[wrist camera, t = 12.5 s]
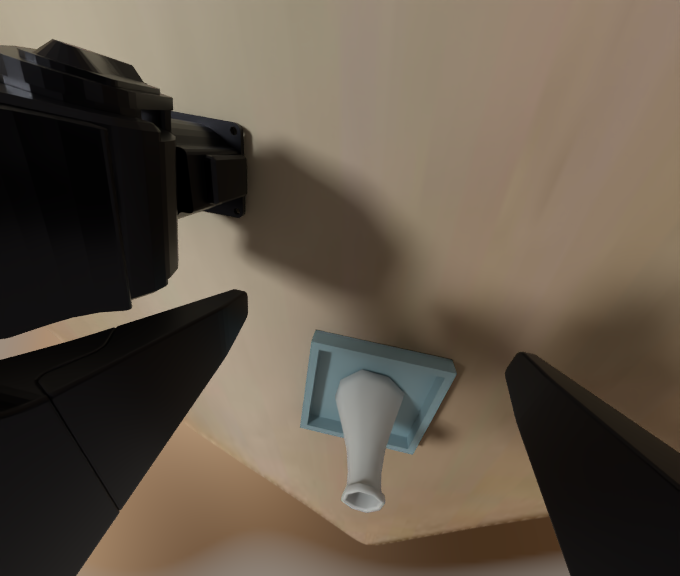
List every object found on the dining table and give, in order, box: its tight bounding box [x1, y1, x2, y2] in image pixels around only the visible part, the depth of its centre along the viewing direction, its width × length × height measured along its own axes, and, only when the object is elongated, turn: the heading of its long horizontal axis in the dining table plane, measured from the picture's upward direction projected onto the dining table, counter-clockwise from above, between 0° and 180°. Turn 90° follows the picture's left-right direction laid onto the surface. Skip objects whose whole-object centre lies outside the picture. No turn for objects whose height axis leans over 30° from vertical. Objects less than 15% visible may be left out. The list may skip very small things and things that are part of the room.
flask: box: [335, 370, 404, 513], centre depth 24 cm, size 7×7×10 cm
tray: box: [300, 330, 457, 455], centre depth 28 cm, size 14×14×2 cm
